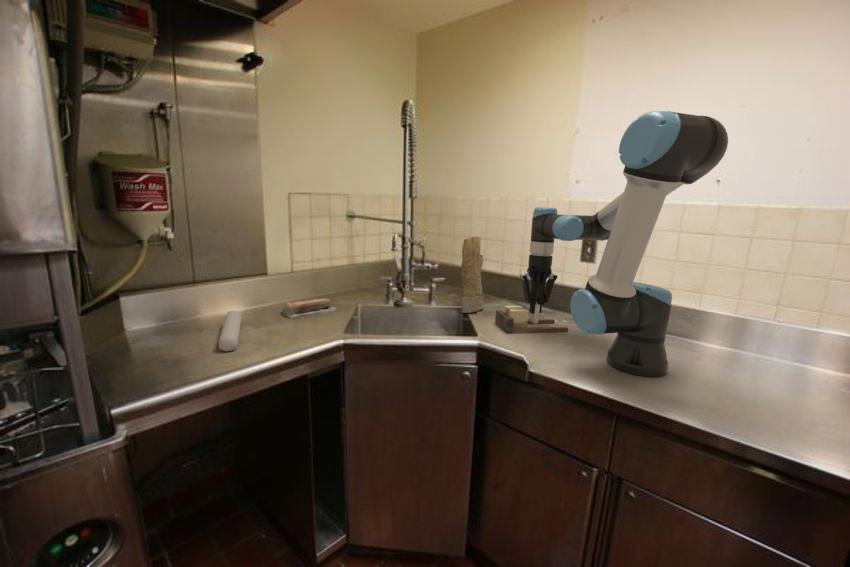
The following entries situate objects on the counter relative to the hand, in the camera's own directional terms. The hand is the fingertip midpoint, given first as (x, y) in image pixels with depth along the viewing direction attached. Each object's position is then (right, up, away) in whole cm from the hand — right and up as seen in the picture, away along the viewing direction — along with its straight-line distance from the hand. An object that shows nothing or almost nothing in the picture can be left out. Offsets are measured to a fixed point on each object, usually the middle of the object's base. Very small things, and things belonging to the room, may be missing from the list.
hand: (534, 322), depth 137 cm
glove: (-19, +2, +24) cm, 31 cm away
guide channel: (-1, -3, +1) cm, 3 cm away
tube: (-96, -4, -17) cm, 98 cm away
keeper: (-7, -2, -1) cm, 7 cm away
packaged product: (-81, +2, +12) cm, 82 cm away
